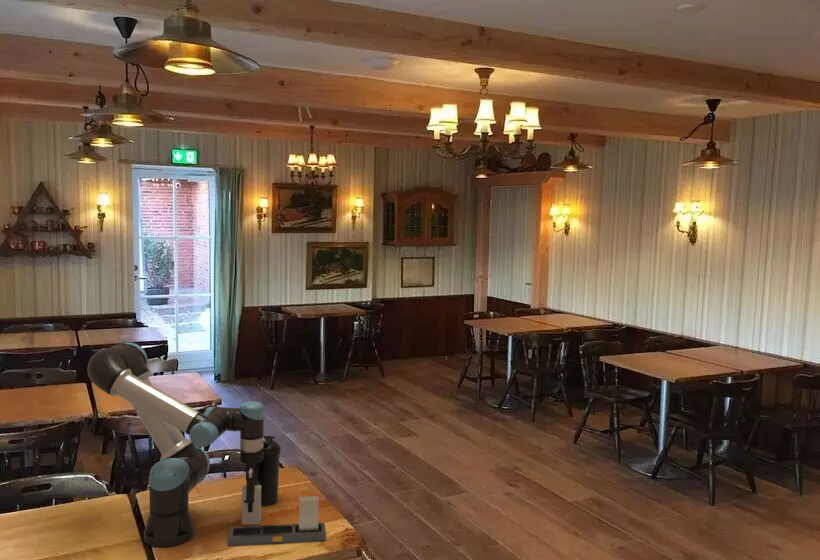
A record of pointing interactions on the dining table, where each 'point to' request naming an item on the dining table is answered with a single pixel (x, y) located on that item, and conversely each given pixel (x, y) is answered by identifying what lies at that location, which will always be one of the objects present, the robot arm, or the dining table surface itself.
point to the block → (257, 506)
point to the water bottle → (269, 471)
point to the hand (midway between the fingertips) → (251, 512)
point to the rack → (283, 528)
